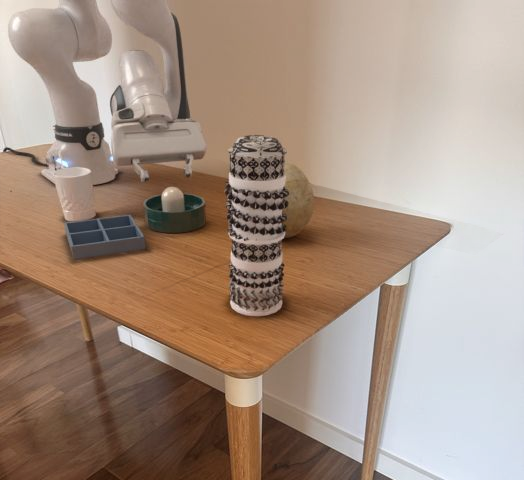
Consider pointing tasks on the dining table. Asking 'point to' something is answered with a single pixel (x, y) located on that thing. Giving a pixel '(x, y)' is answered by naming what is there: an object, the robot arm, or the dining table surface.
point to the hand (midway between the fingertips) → (167, 178)
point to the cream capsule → (172, 200)
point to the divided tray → (104, 236)
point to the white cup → (75, 193)
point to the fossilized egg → (297, 200)
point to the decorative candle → (256, 224)
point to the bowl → (175, 215)
